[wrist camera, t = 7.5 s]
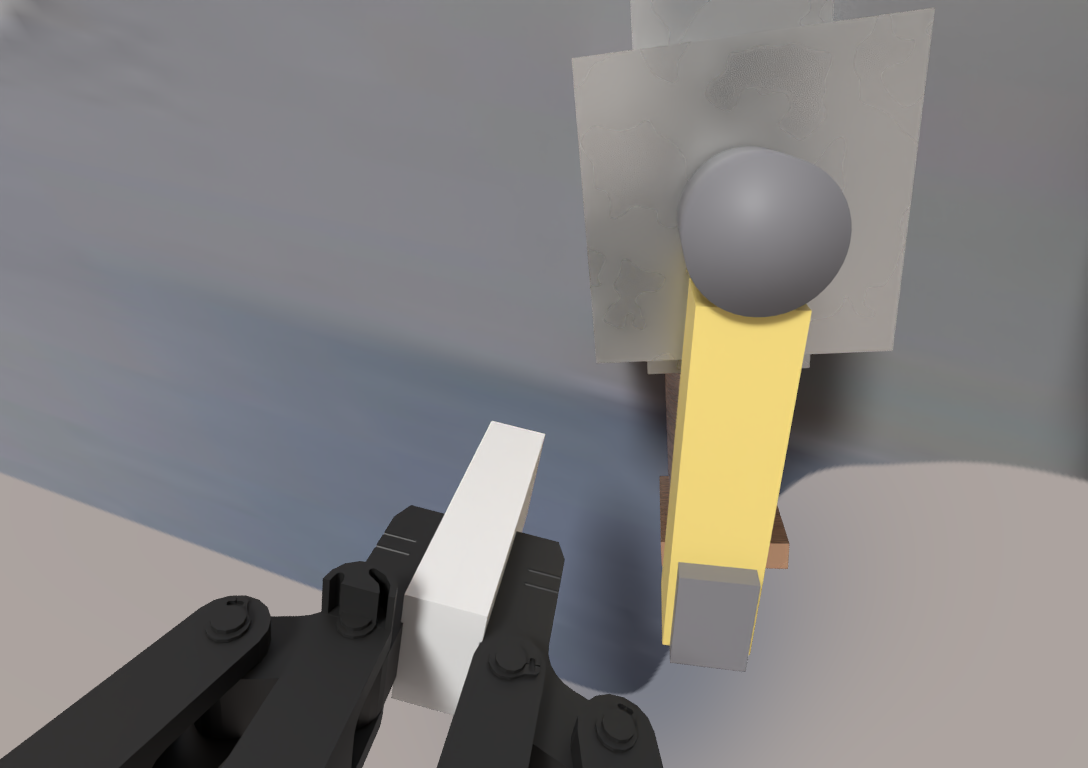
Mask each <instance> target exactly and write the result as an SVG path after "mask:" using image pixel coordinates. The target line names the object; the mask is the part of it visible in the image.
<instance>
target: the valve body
mask: <svg viewBox="0 0 1088 768" xmlns="http://www.w3.org/2000/svg"><path fill="white" fill-rule="evenodd" d="M630 4H631V25H632V47H633V50H628V51H621V52H614V53H607V54H600V55H592V56H585V57H578V58H572V68H573V80H574V93H575V105H576V117H577V129H578V141H579V154H580V166H581V178H582V190H583V203H584V215H585V227H586V239H587V251H588V264H589V276H590V288H591V300H592V312H593V325H594V337H595V349H596V361H597V363H614V362H638V361H647V369H648V374H664V373H665V386H666V415H667V444H668V473H669V476H660V520H661V555H662V566H663V559H664V548H665V537H666V527H667V516H668V505H669V494H670V483H671V472H672V461H673V451H674V440H675V429H676V418H677V407H678V396H679V385H680V375H681V364H682V353H683V342H684V331H685V320H686V309H687V298H688V288H689V278H691V277H690V275H689V272H688V270H687V267H686V263H685V259H684V255H683V250H682V245H681V241H680V236H679V231H678V225H677V211H678V204H679V201H680V197H681V194H682V192H683V189H684V187H685V186H686V184H687V182H688V180H689V179H690V178H691V176H692V175H693V173H694V172H695V171H696V170H697V169H698V168H699V167H700V166H701V165H702V164H703V163H705V162H706V161H707V160H709V159H710V158H712V157H713V156H715V155H717V154H719V153H721V152H723V151H725V150H728V149H731V148H736V147H741V146H760V147H765V148H769V149H772V150H775V151H778V152H781V153H784V154H787V155H790V156H793V157H796V158H799V159H802V160H805V161H807V162H810V163H812V164H814V165H816V166H818V167H819V168H821V169H822V170H823V171H825V172H826V173H827V174H829V175H830V176H831V178H832V179H833V180H834V181H835V182H836V183H837V184H838V186H839V187H840V189H841V190H842V192H843V194H844V196H845V198H846V200H847V203H848V206H849V209H850V215H851V222H852V233H851V241H850V245H849V249H848V253H847V255H846V258H845V260H844V263H843V265H842V267H841V268H840V270H839V272H838V274H837V275H836V276H835V278H834V279H833V280H832V282H831V283H830V284H829V285H828V286H827V287H826V288H825V289H824V290H823V291H822V292H821V293H820V294H819V295H818V296H816V297H815V298H814V299H812V300H811V301H809V302H808V303H806V304H807V305H808V307H809V308H810V309H811V310H812V313H811V318H810V324H809V329H808V335H807V341H806V346H805V352H804V357H803V363H802V368H809V367H810V354H826V353H850V352H873V351H893V343H894V335H895V327H896V319H897V311H898V302H899V294H900V286H901V278H902V270H903V262H904V254H905V246H906V238H907V230H908V222H909V214H910V206H911V197H912V189H913V181H914V173H915V165H916V157H917V149H918V141H919V133H920V125H921V117H922V109H923V100H924V92H925V84H926V76H927V68H928V60H929V52H930V44H931V36H932V28H933V20H934V12H935V8H928V9H921V10H914V11H907V12H900V13H892V14H885V15H878V16H871V17H864V18H857V19H850V20H842V21H835V22H833V8H834V0H630ZM788 557H789V541H788V538H787V535H786V532H785V529H784V525H783V522H782V519H781V516H780V513H779V509H778V506H777V507H776V512H775V518H774V524H773V529H772V535H771V540H770V546H769V551H768V557H767V562H766V568H775V569H776V568H777V569H788Z"/></svg>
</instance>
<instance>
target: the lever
mask: <svg viewBox="0 0 1088 768" xmlns="http://www.w3.org/2000/svg"><path fill="white" fill-rule="evenodd" d="M677 225H678V231H679V236H680V241H681V245H682V250H683V255H684V259H685V263H686V267H687V270H688V272H689V275H690V277H691V278H689V288H688V298H687V309H686V320H685V331H684V342H683V353H682V364H681V375H680V385H679V396H678V407H677V418H676V429H675V440H674V451H673V461H672V472H671V483H670V494H669V505H668V516H667V527H666V537H665V548H664V559H663V570H662V581H661V593H662V644H663V645H670V663H677V664H686V665H693V666H701V667H709V668H717V669H725V670H733V671H742V672H745V671H746V665H747V660H748V655H750V651H751V645H752V640H753V634H754V629H755V623H756V618H757V612H758V606H759V601H760V596H761V590H762V584H763V579H764V573H765V568H766V562H767V557H768V551H769V546H770V540H771V535H772V529H773V524H774V518H775V512H776V507H777V501H778V496H779V490H780V485H781V479H782V474H783V468H784V463H785V457H786V451H787V446H788V440H789V435H790V429H791V424H792V418H793V413H794V407H795V402H796V396H797V390H798V385H799V379H800V374H801V368H802V363H803V357H804V352H805V346H806V341H807V335H808V329H809V324H810V318H811V313H812V310H811V309H810V308H809V307H808V305H807V304H806V303H808V302H809V301H811V300H812V299H814V298H815V297H816V296H818V295H819V294H820V293H821V292H822V291H823V290H824V289H825V288H826V287H827V286H828V285H829V284H830V283H831V282H832V280H833V279H834V278H835V276H836V275H837V274H838V272H839V270H840V268H841V267H842V265H843V263H844V260H845V258H846V255H847V253H848V249H849V245H850V241H851V233H852V222H851V215H850V209H849V206H848V203H847V200H846V198H845V196H844V194H843V192H842V190H841V189H840V187H839V186H838V184H837V183H836V182H835V181H834V180H833V179H832V178H831V176H830V175H829V174H827V173H826V172H825V171H823V170H822V169H821V168H819V167H818V166H816V165H814V164H812V163H810V162H807V161H805V160H802V159H799V158H796V157H793V156H790V155H787V154H784V153H781V152H778V151H775V150H772V149H769V148H765V147H760V146H741V147H736V148H731V149H728V150H725V151H723V152H721V153H719V154H717V155H715V156H713V157H712V158H710V159H709V160H707V161H706V162H705V163H703V164H702V165H701V166H700V167H699V168H698V169H697V170H696V171H695V172H694V173H693V175H692V176H691V178H690V179H689V180H688V182H687V184H686V186H685V187H684V189H683V192H682V194H681V197H680V201H679V204H678V211H677Z"/></svg>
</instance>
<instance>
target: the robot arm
mask: <svg viewBox="0 0 1088 768" xmlns="http://www.w3.org/2000/svg"><path fill="white" fill-rule="evenodd" d="M544 437H545V434H543V433H539V432H535V431H531V430H527V429H523V428H519V427H515V426H511V425H507V424H503V423H499V422H495V421H491V423H490V425H489V427H488V429H487V431H486V433H485V435H484V437H483V439H482V441H481V443H480V445H479V447H478V449H477V451H476V453H475V455H474V457H473V459H472V461H471V463H470V465H469V467H468V469H467V471H466V473H465V475H464V477H463V479H462V481H461V483H460V485H459V487H458V489H457V491H456V493H455V495H454V497H453V499H452V501H451V503H450V505H449V507H448V509H447V511H446V513H445V514H443V513H439V512H435V511H431V510H428V509H424V508H420V507H416V506H412V505H411V506H409V507H408V508H406V509H405V510H403V511H402V512H400V513H399V514H397V515H396V516H394V518H393V519H392V521H391V522H390V524H389V526H388V527H387V529H386V530H385V533H384V535H382V537H381V538H380V540H379V542H378V543H377V546H376V548H374V550H373V551H372V553H371V555H370V556H369V558H368V559H367V561H366V562H362V561H358V562H352V563H345V564H343V565H341V566H339V567H337V568H335V569H333V570H331V571H330V572H329V573H328V574H327V575H326V576H325V577H324V578H323V590H322V611H321V612H319V613H316V614H313V615H306V616H281V617H271V616H270V613H269V610H268V608H267V606H265V605H264V604H263V603H262V602H261V601H260V600H258V599H255V598H252V597H249V596H227V597H224V598H220V599H216V600H213V601H212V602H210V603H208V604H207V605H205V606H203V607H201V608H200V609H198V610H197V611H195V612H194V613H193V614H191V615H190V616H189V617H187V618H186V619H185V620H184V621H182V622H181V623H180V624H178V625H177V626H176V627H174V628H173V629H172V630H171V631H169V632H168V633H166V634H165V635H164V636H162V637H161V638H160V639H159V640H157V641H156V642H155V643H153V644H152V645H151V646H150V647H148V648H147V649H145V650H144V651H143V652H141V653H140V654H139V655H137V656H136V657H135V658H133V659H132V660H131V661H129V662H128V663H127V664H125V665H124V666H123V667H122V668H120V669H119V670H118V671H116V672H115V673H114V674H113V675H111V676H110V677H108V678H107V679H106V680H104V681H103V682H102V683H100V684H99V685H98V686H97V687H95V688H94V689H93V690H91V691H90V692H89V693H87V694H86V695H85V696H83V697H82V698H81V699H79V700H78V701H77V702H75V703H74V704H73V705H71V706H70V707H69V708H68V709H66V710H65V711H63V712H62V713H61V714H60V715H58V716H57V717H56V718H54V719H53V720H52V721H50V722H49V723H48V724H46V725H45V726H44V727H43V728H41V729H40V730H38V731H37V732H36V733H35V734H33V735H32V736H31V737H29V738H28V739H27V740H25V741H24V742H23V743H21V744H20V745H19V746H17V747H16V748H15V749H13V750H12V751H11V752H9V753H8V754H7V755H5V756H4V757H3V758H1V759H0V768H362V767H363V765H364V762H365V760H366V758H367V755H368V753H369V751H370V748H371V746H372V743H373V741H374V739H375V737H376V734H377V732H378V730H379V727H380V724H381V720H382V715H383V707H384V703H385V701H386V698H387V696H388V694H389V692H390V689H391V687H392V685H393V689H392V697H391V698H394V699H397V700H401V701H404V702H408V703H411V704H415V705H418V706H422V707H426V708H429V709H432V710H436V711H440V712H443V713H447V714H451V715H454V716H453V719H452V723H451V726H450V729H449V732H448V735H447V738H446V741H445V744H444V747H443V750H442V754H441V756H440V760H439V763H438V766H437V768H663V765H662V761H661V757H660V753H659V749H658V745H657V741H656V737H655V733H654V730H653V728H652V726H651V724H650V721H649V719H648V717H647V716H646V715H645V714H644V713H643V712H642V711H641V709H640V708H639V707H638V706H637V705H635V704H633V703H632V702H630V701H629V700H627V699H625V698H624V697H619V696H615V695H611V694H606V695H599V696H595V697H593V698H592V699H590V700H587V699H586V698H584V697H583V696H581V695H580V694H578V693H576V692H575V691H573V690H572V689H570V688H569V687H568V686H566V685H565V684H564V683H563V682H562V681H561V680H560V679H559V677H558V676H557V675H556V674H555V672H554V670H553V668H552V666H551V664H550V660H549V656H548V651H549V642H550V636H551V631H552V625H553V620H554V614H555V609H556V604H557V598H558V592H559V587H560V582H561V576H562V571H563V566H564V560H565V559H564V556H563V554H562V551H561V548H560V545H559V542H556V541H552V540H548V539H544V538H541V537H537V536H533V535H529V534H525V533H522V529H523V526H524V523H525V519H526V516H527V512H528V508H529V503H530V499H531V495H532V490H533V486H534V481H535V477H536V473H537V468H538V464H539V459H540V455H541V450H542V446H543V442H544Z"/></svg>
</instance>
